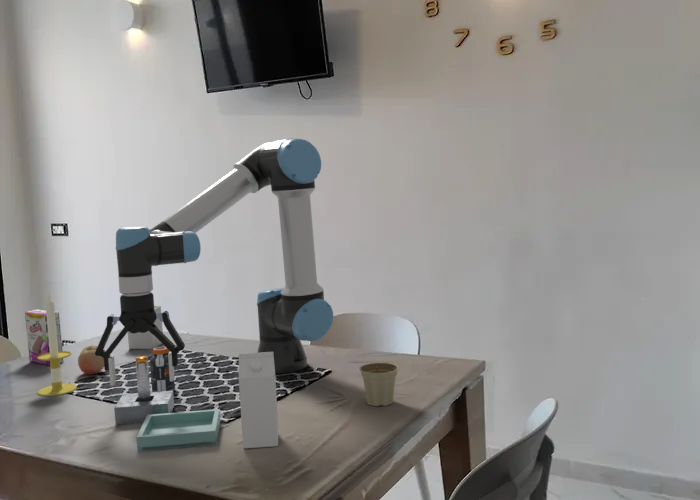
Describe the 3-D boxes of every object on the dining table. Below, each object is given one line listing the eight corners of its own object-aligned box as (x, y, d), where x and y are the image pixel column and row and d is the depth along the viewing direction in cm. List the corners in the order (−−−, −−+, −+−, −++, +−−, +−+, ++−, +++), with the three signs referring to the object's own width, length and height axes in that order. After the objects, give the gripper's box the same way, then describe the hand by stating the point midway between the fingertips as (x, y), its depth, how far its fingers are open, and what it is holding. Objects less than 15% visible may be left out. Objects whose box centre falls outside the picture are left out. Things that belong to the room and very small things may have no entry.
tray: (220, 421, 160) (219, 409, 160) (216, 444, 146) (215, 430, 146) (148, 427, 158) (147, 414, 158) (137, 451, 145) (136, 437, 144)
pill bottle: (168, 392, 184) (165, 350, 183) (147, 392, 185) (144, 350, 184) (178, 386, 190) (175, 345, 189) (158, 385, 191) (155, 344, 190)
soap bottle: (128, 349, 235) (124, 292, 233) (140, 342, 243) (136, 288, 241) (152, 349, 233) (148, 292, 231) (163, 342, 242) (159, 288, 240)
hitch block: (174, 406, 173) (173, 390, 172) (168, 420, 163) (167, 403, 162) (124, 410, 171) (122, 394, 171) (115, 424, 161) (114, 407, 161)
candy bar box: (28, 362, 223) (23, 311, 221) (42, 358, 227) (38, 308, 225) (50, 366, 217) (45, 314, 215) (64, 362, 221) (59, 311, 219)
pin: (152, 412, 169) (148, 355, 167) (151, 416, 166) (146, 358, 164) (140, 413, 168) (136, 356, 167) (138, 417, 166) (134, 359, 164)
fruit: (72, 376, 204) (70, 349, 204) (92, 368, 212) (90, 342, 211) (94, 378, 201) (92, 350, 201) (113, 370, 209) (111, 344, 208)
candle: (85, 386, 193) (76, 290, 190) (56, 397, 184) (47, 296, 181) (58, 383, 197) (50, 288, 194) (29, 394, 188) (19, 295, 185)
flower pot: (404, 397, 172) (403, 363, 171) (394, 410, 163) (392, 374, 162) (367, 395, 175) (366, 361, 174) (355, 407, 166) (354, 372, 165)
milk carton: (245, 436, 150) (239, 349, 148) (278, 434, 151) (273, 347, 149) (243, 449, 143) (237, 358, 141) (278, 446, 144) (272, 356, 142)
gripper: (192, 287, 169) (198, 373, 171) (85, 293, 166) (92, 381, 168) (189, 292, 162) (195, 382, 164) (76, 299, 159) (84, 390, 161)
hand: (142, 382), depth 166 cm, fingers open, 13 cm apart
